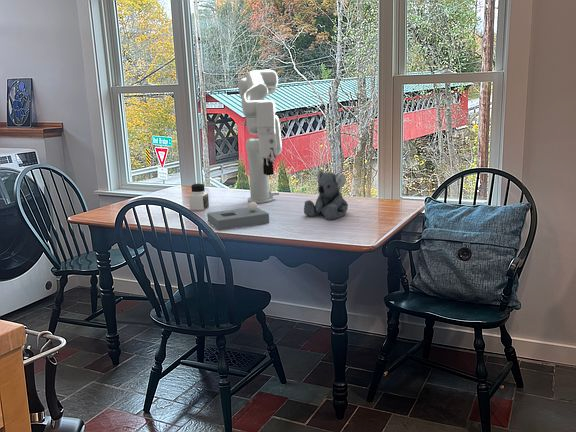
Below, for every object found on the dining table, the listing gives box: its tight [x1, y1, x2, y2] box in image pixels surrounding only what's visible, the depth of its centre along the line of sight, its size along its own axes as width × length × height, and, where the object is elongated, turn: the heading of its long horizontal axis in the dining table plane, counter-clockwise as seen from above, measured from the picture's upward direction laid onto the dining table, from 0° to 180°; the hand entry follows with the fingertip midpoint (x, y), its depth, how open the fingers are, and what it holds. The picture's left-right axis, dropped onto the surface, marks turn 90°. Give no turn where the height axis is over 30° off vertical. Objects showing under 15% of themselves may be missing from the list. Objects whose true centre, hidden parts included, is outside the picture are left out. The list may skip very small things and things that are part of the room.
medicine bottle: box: [188, 182, 210, 211], centre depth 271 cm, size 7×7×12 cm
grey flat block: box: [206, 207, 270, 231], centre depth 242 cm, size 22×16×4 cm
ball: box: [247, 202, 258, 211], centre depth 244 cm, size 4×4×4 cm
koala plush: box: [303, 169, 349, 221], centre depth 247 cm, size 17×18×20 cm
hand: (268, 174), depth 244 cm, fingers closed
